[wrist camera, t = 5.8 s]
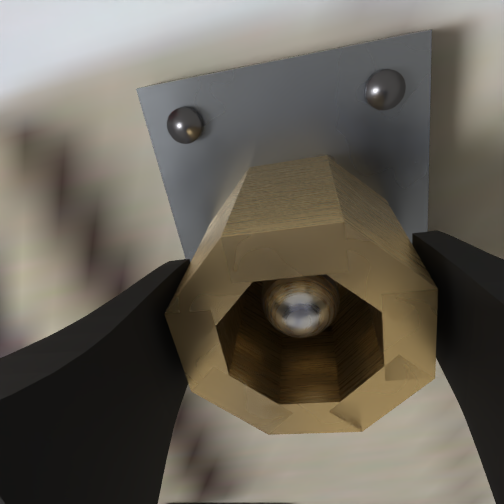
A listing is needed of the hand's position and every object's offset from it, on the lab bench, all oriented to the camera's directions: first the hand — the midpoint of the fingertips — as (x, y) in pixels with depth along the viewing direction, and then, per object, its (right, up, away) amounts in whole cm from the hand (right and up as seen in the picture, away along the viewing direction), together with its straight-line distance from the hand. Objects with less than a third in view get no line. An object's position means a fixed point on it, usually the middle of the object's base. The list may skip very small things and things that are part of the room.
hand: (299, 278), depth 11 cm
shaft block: (0, +2, +3) cm, 3 cm away
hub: (0, +1, +2) cm, 2 cm away
